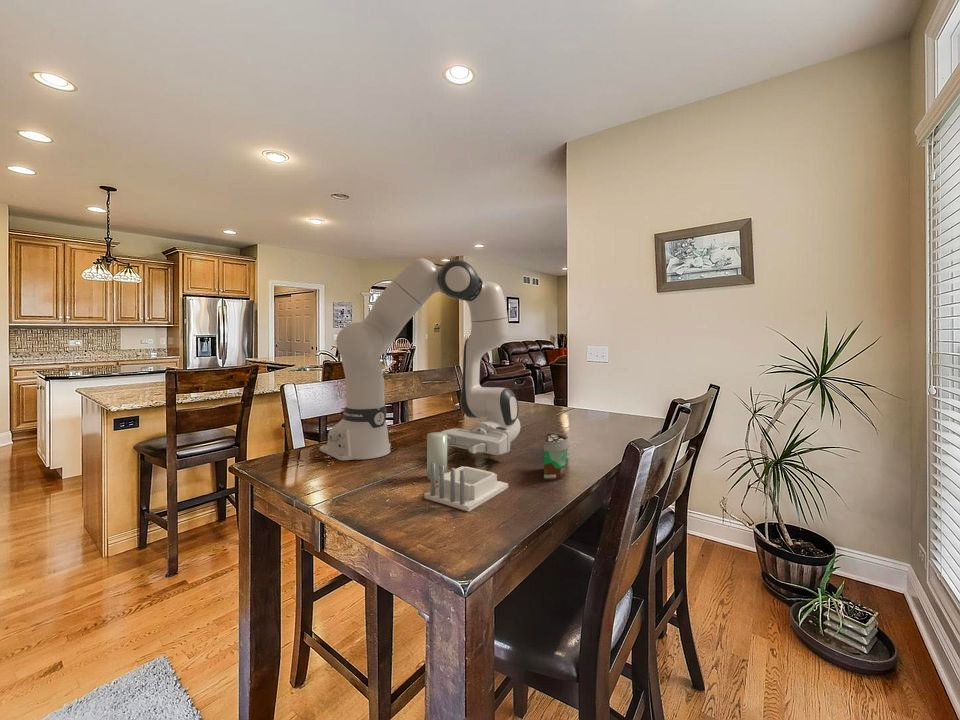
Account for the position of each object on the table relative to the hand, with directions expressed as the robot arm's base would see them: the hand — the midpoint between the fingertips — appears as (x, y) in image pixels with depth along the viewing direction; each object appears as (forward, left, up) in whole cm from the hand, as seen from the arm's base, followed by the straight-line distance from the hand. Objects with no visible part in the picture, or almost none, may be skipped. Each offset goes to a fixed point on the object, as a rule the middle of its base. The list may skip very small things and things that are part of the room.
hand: (456, 447), depth 111 cm
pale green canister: (0, -8, -6) cm, 10 cm away
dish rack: (+12, -12, -6) cm, 18 cm away
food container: (+24, +11, -6) cm, 27 cm away
